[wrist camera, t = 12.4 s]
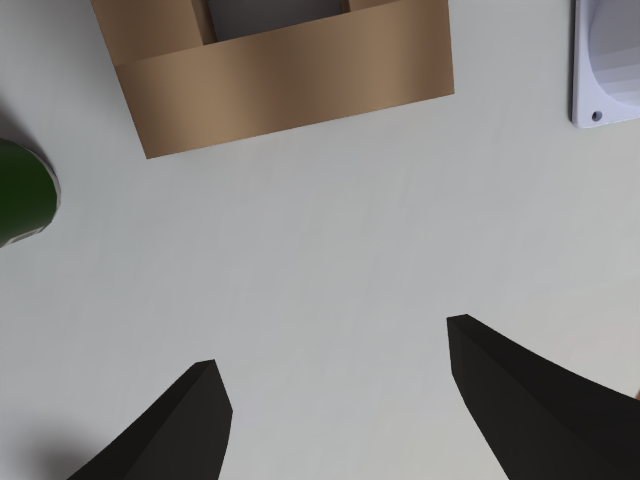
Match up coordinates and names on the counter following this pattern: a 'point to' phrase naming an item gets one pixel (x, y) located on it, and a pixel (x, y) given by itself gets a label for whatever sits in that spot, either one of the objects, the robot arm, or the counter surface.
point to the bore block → (269, 68)
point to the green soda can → (25, 193)
